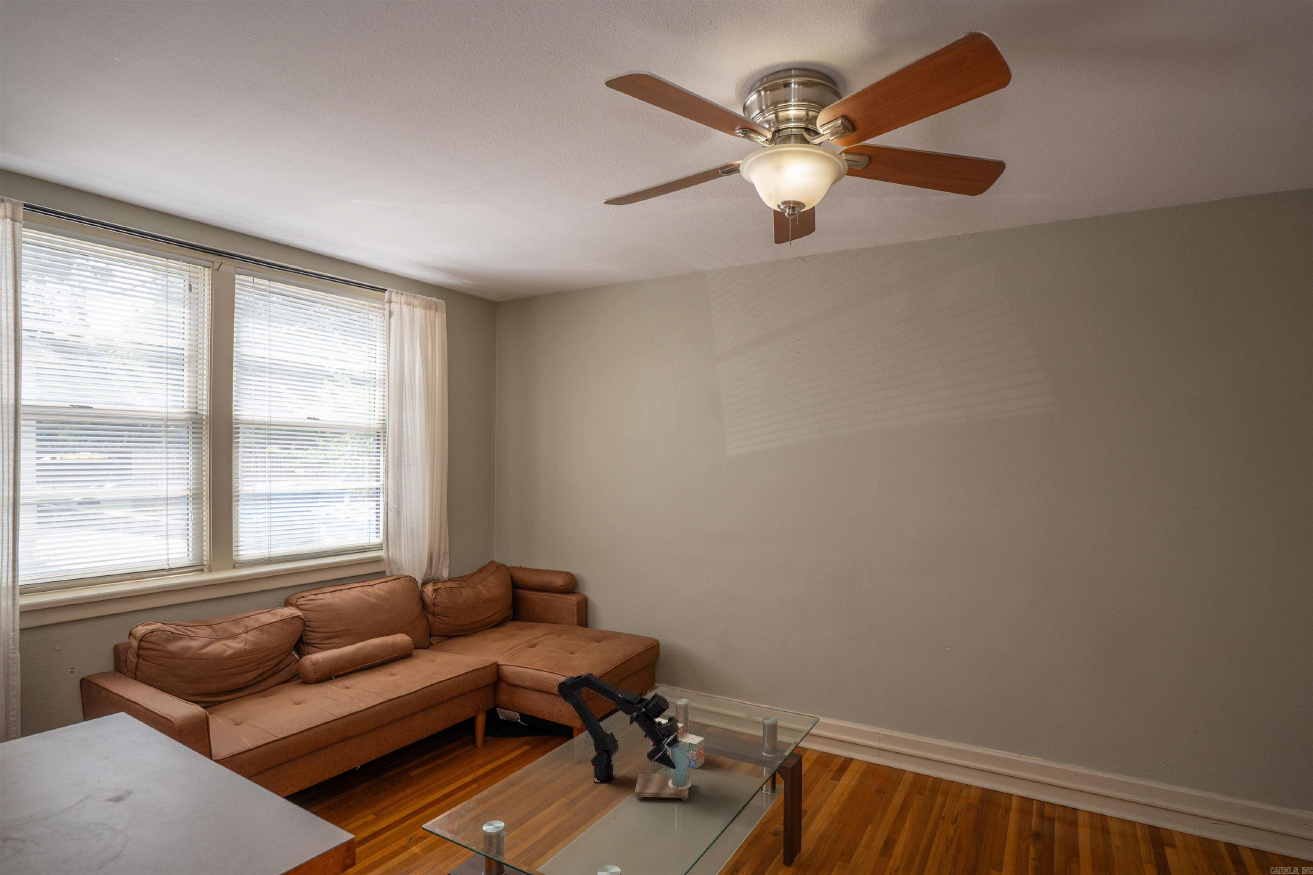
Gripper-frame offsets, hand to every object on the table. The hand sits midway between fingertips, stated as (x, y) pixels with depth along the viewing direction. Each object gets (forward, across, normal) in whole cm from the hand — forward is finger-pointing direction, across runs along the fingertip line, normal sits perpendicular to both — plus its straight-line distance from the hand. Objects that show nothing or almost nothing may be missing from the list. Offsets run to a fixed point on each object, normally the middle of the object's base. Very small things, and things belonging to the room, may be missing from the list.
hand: (679, 762), depth 240 cm
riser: (+3, -2, +12) cm, 12 cm away
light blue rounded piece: (+5, 0, +5) cm, 7 cm away
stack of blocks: (+1, +23, +14) cm, 27 cm away
